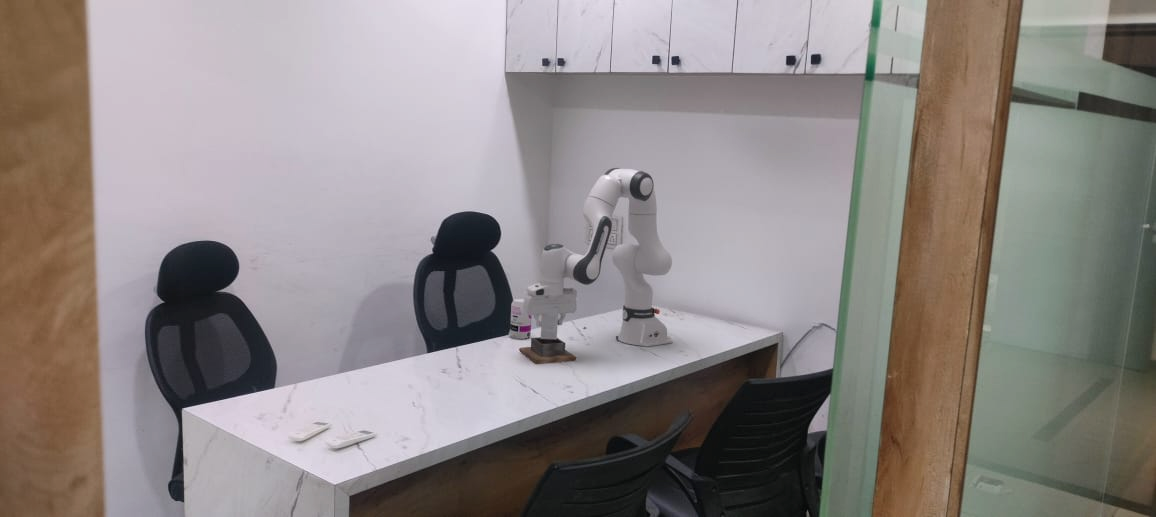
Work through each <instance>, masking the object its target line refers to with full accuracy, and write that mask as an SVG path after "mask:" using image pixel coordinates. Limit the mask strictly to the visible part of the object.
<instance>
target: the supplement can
mask: <svg viewBox="0 0 1156 517" xmlns="http://www.w3.org/2000/svg"><path fill="white" fill-rule="evenodd" d="M524 299H525V298H522V297H521V298H514V299H513V300H512V302H511V304H510V305H511V307H510V308H511V309H510V325H509V329H510V330H509V336H511V338H512V337H513V338H512V339H515V338H516V340H526V339H525V338H527V339H529V338H531V334H532V333H531V332H532V319H533V318H532V316H533V315H527V314H525V313H524V311H523V305H524ZM528 337H529V338H528Z"/></svg>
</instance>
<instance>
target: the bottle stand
mask: <svg viewBox="0 0 1156 517" xmlns="http://www.w3.org/2000/svg"><path fill="white" fill-rule="evenodd" d="M518 349H519V351H520V352H521V353H520V352H519V353H520V354H522V355H523V356H524V355H525V356H524V357H526V358H527V359H528V358H529V359H528V360H530V361H531V362H532V361H533V362H532V363H533V364H534V365H543V364H556V363H565V362H566V363H567V362H577V356H576V355H574V354H573V353H572V352H570V351H568V350H566V342H564V341H562V339H560V338H559V337H557V339H541V336H539V337H537V336H536V337H530V346H526V347H525V346H524V347H519V348H518Z"/></svg>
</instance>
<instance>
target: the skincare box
mask: <svg viewBox="0 0 1156 517" xmlns="http://www.w3.org/2000/svg"><path fill="white" fill-rule="evenodd" d="M558 320H559V314H558V307H552V308H551V307H550V312H549V314H543V315H541V320H540V321H541V322H542V324H541V325H542V326H540V337H541V339H557V338H558V326H559V325H558Z"/></svg>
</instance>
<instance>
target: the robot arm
mask: <svg viewBox="0 0 1156 517" xmlns="http://www.w3.org/2000/svg"><path fill="white" fill-rule="evenodd" d="M619 198H624V199H628V201H629V202H628V215H627V216H628V217H627V218H628V219H627V220H628V222H627V223H628V224H627V225H628V226H627V227H628V233H629V234H630V235H631V236H632V237H634V238H635V240H636V241H637V243H638V244H632V243H622V244H618V245H617V246H615V248H614V249H613V251H612V255H611V259H612V263H613V266H615V267H616V269H617V270H618V271H619V273H620V275H621V277H622V281H623V283H624V304H623V308H622V322H621V327H620V331H619V334H618V337H617V340H618V341H619V342H622V343H624V344H628V345H633V346H635V345H636V346H639V347H646V348H647V347H653V346H659V345H667V344H672V343H673V339H672V337H670V336H668V329H667V326H666V325H665V324H664V323H663V321H661V320H660V319H658V318H657V317H656V316H655V315H660V313H661V311H660V309H659V308H654V307H653V295H654V290H653V287H652V285H651V284H650V283H648V282H647V281H646V279H645V278H644V275H648V276H655V277H656V276H666V275H667V274H668V273H669V272H670V270H671V268H672V265H673V258H672V256H671V254H670V252H669V251H668V250H666V248H665V247H664V246H663V244H662V243H661V240H660V238H659V235H658V231H657V230H658V228H657V212H658V211H657V207H658V206H657V197H656V192H655V189H654V180H653V178H652V176H651V175H650V174H649V173H647V172H645V171H643V170H640V171H639V170H637V169H633V168H620V167H612V168H610V169H608V170H607V171H605V173H604V174H603V175H600V177H599V178H598V179H597V180H596V182H595V183H594V185H593V186H592V187H591V190H590V191H589V194H588V195H587V198H586V200H585V202H584V205H583V208H582V215H583V217H584V219H585V221H586V222H587V223H588V225H590V227H591V228H592V237H591V239H590V243H589V246H588V249H587V252H586V253H585V254H584V255H582V254H580V253H576V252H574V251H571V250H569V249H568V248H566V247H565V246H564V245H563V244H560V243H552V244H548V245H546V246H544V248H543V250H542V253H541V258H540V277H539V282H537V283H534V284H532V285H529V286H527V287H526V293H527V294H525V296H524V298H523V299H524V305H523V311H524V313H525V314H527V315H532V316H533V318H534V320H535V326H536V327H541V326H542V325H541V324H542V322H541V321H542V320H540V319H539V318H540V315H541V316H542V315H543V314H549V312H550V307H551V308H552V307H558V315H560V317H558V325H557V326H562V325H563V321H564V319H566V318H565V317H567V316H566V315H567V314H575V313H576V312H577V297H578V296H577V295H578V294H577V290H576V288H573V287H567V288H565V287H564V284H565V283H564V282H565V279H569V280H573V281H576V282H578V283H580V284H582V285H585V286H588V285H591V284H593V283H594V282H596V281H597V279H598V278H599V276H600V275H601V274H600V273H601V269H602V268H601V267H602V261H603V258H604V255H605V252H606V249H607V246H608V242H609V239H610V236H611V233H612V228H613V222H612V217H613V215H614V214H613V213H614V211H615V208H616V206H617V204H618V201H619Z"/></svg>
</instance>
